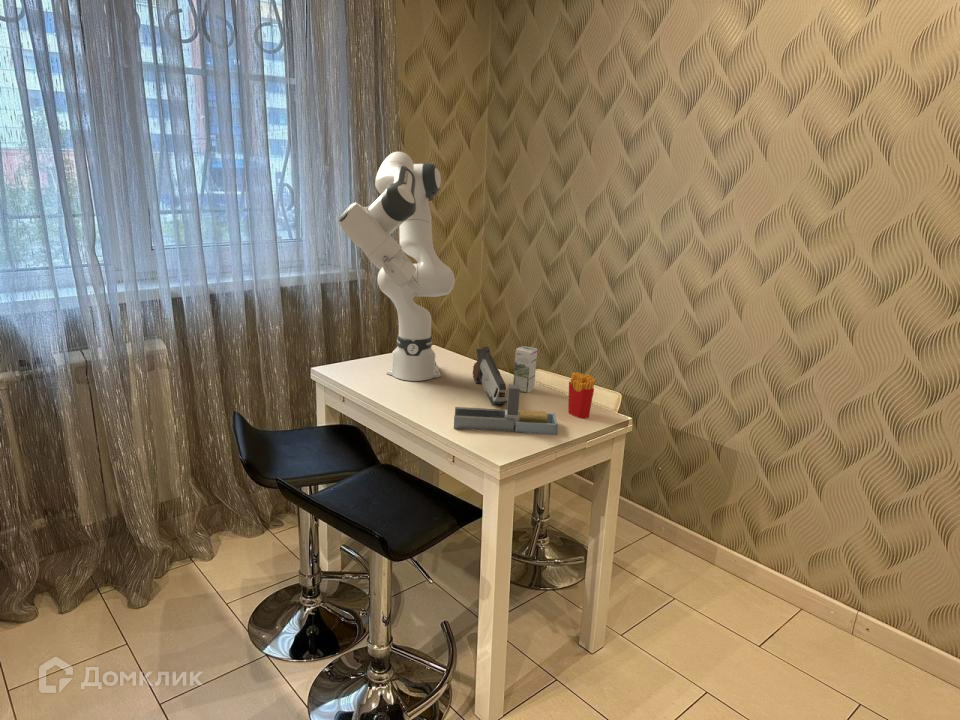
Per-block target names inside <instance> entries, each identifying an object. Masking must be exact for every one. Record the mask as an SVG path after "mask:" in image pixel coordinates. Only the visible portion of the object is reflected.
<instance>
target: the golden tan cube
mask: <svg viewBox="0 0 960 720" xmlns="http://www.w3.org/2000/svg"><path fill="white" fill-rule="evenodd" d="M518 411H519V415H520V417H519V422H532V423H533V417H534V415H533V411H534V410H532V409H531V410H530V409H518Z"/></svg>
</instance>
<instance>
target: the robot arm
mask: <svg viewBox="0 0 960 720" xmlns="http://www.w3.org/2000/svg"><path fill="white" fill-rule="evenodd" d="M374 181H375V183H374V184H375V185H374V186H375V190H376V192H377V196H378V197H377V198H376V199H375V200H374V201H373V202H372V203H371V204H369V206H362V205H361V204H360V203H358V202H356V201H355V202H352V203H351V204H349V205H348V206H347V208H346V209H345V210H344V211H343V212H342V214H341V215H340V216H339V219H338V224H339V226H340V227H341V230H342V231H343V232H344V233H345V235H346V236H347V237H348V239H349V240H350V241H352V242H353V244H354V246H356V247H358V248H360V249H361V251H362V252H363V253H364V255H365V256H366V257H367V259H368V260H369V261H370V262H371V263H372V264H373V265H374V266H375V267H376V268H377V269H378V272H377V285H378V287H379V290H380V291H381V292H382V293H383V295H386V296H387V297H388V298H389V299H390V300H391V302H392V303H393V305H394V307H395V309H396V311H397V316H398V317H397V318H398V320H397V321H398V334H397V338H396V347H395V348H394V350H393V351H392V352H391V354H392V355H391V367H389V368H388V369H387V370H386V375H390V376H393V377H394V378H396V379H398V380H402V381H410V382H412V381H413V382H418V381H421V382H423V381H428V380H431V379H434V378H435V379H436V378H441V372H440V369H439V367H438V365H437V362H436V353H435V351H434V350H433V349H432V346H433V344H432V343H433V337H432V315H431V313H430V311H429V310H428V309H426V308H425V307H423V306H421V305H420V304H417V303H416V302H415V300H414V298H416V297H425V298H426V297H427V298H429V297H430V298H437V297H442V296H449V294H450V293H451V292H452V291H453V289H454V287H455V283H456V279H455V273H454V272H453V270H452V269H451V268H450V267H449V266H448V265H446V263H444V262H443V261H442V260H441V258H439V256H438V254H437V253H436V250H435V247H434V242H433V227H432V226H433V225H432V224H433V222H432V214H431V208H430V204H429V202H431V201H433V200H434V197H435V196H436V195H437V194H438V193H439V190H440V188H441V182H442V177H441V173H440V171H439V169H438V167H437V165H435V164H434V163H432V162H431V163H429V162H423V163H414V161H413V160H412V157H411V156H410V155H409V154H407V153H405V152H403V151H394V152H392V153H390V154H389V155H387V156H386V157H385V159H384V160H383V161H382V163H381V164H380V167H379V168H378V170H377V173H376V174H375V180H374ZM398 228H399V229H398ZM397 229H398V231H399V243H398V242H397V240H395V239H394V238H393V236H392V235H391V234H393V232H395V231H396V230H397ZM407 255H408V256H409V257H411V258H413V259H414V261H416V262H417V263H413V262H412V261H411V259H410V258H409V257H408V256H407Z"/></svg>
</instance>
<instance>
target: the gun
mask: <svg viewBox="0 0 960 720" xmlns="http://www.w3.org/2000/svg"><path fill="white" fill-rule="evenodd" d="M476 353H477V361H476V362H475V363H474V364H473V367H472V378H473V380H474V382H475V384H476V385H482V387H483V389H484V392H485V393H486V395H487V398H488V399H489V403H490V404H491V405H504V404H507V403H508V392H507V386H506V383H505V381H504V379H503V376H502V374H501V372H500V370H499V368H498V365H497V363H496V362H495V360H494V358H493V356H492V354H491V350H490V348H489V346H483V348H476Z"/></svg>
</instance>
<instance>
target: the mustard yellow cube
mask: <svg viewBox="0 0 960 720" xmlns="http://www.w3.org/2000/svg"><path fill="white" fill-rule="evenodd" d="M547 413H548V412H547V411H545V410H533V415H534V417H533V423H547V417H548V416H547Z"/></svg>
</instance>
